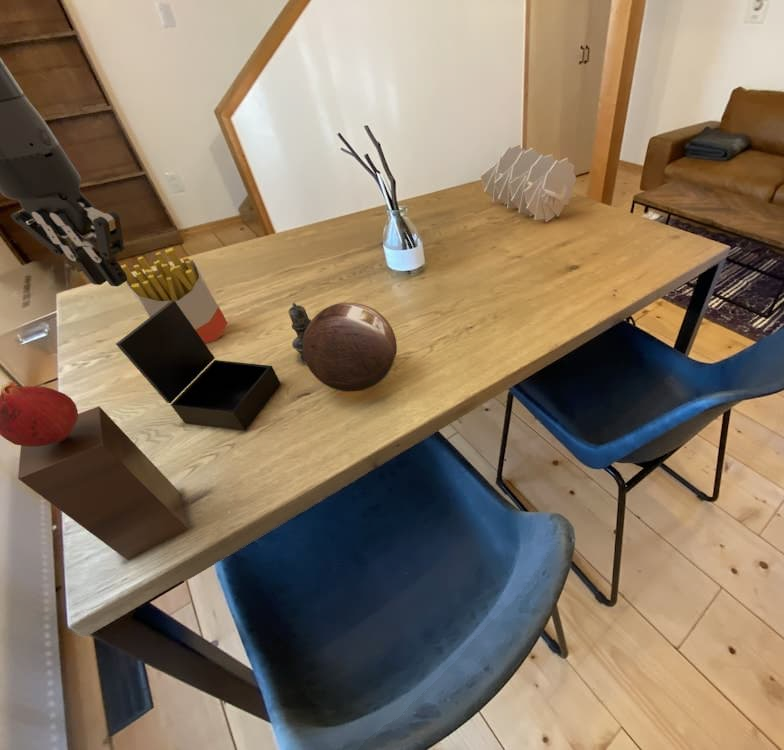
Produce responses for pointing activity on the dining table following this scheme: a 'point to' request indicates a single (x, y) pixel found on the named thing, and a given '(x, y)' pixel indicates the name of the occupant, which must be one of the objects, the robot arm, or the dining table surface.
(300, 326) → the grey chess piece
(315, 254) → the dining table surface
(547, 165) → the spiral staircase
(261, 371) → the box
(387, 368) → the wooden sphere
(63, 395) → the pomegranate
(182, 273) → the french fries container
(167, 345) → the box lid
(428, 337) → the dining table surface
